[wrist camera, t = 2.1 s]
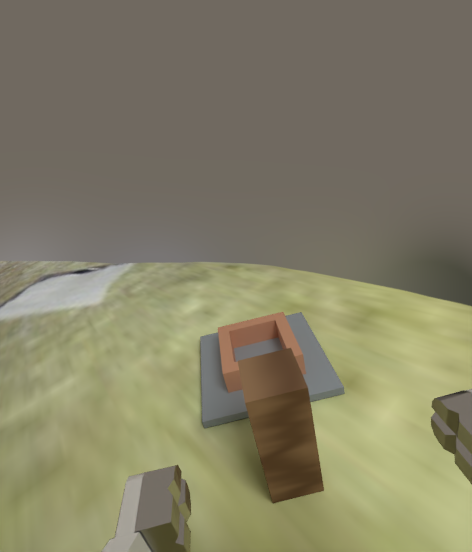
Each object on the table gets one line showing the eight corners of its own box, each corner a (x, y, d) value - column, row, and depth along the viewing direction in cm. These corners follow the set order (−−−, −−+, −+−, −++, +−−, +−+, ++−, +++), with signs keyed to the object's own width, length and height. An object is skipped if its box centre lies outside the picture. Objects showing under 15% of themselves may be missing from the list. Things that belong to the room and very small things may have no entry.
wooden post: (272, 503, 28) (245, 403, 22) (262, 455, 32) (237, 360, 27) (323, 490, 28) (307, 387, 23) (307, 443, 32) (290, 347, 27)
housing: (204, 428, 36) (195, 402, 34) (202, 341, 50) (195, 320, 49) (344, 393, 36) (342, 366, 34) (302, 317, 50) (298, 295, 49)
